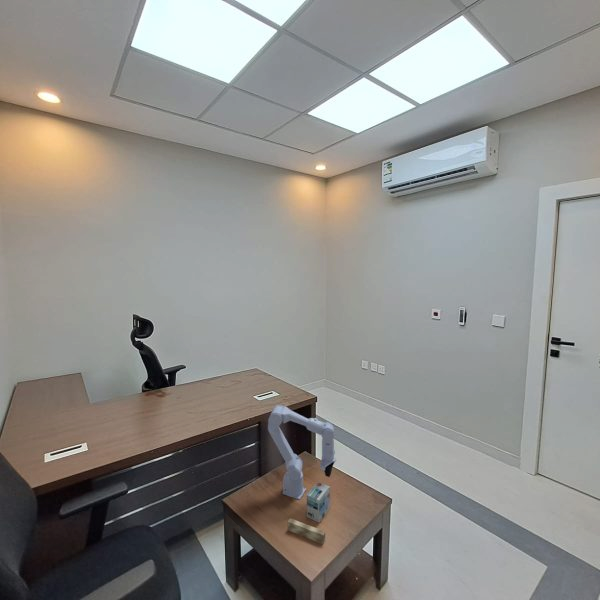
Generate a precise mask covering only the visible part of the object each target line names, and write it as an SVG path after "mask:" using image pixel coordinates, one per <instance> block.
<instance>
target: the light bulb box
mask: <svg viewBox="0 0 600 600" xmlns="http://www.w3.org/2000/svg"><path fill="white" fill-rule="evenodd" d="M330 508H331V486H329V485H327V484H325V483H322V482H320V481H316V483H315V484H314V486H312V488H311V489H310V490H309V492H307V494H306V517H307V518H309V519H310V520H313V521H315V523H316V522H317V524H319V523H320V522H322V520H323V519H324V517H326V515H327V513H328V512H329V510H330Z"/></svg>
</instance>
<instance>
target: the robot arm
mask: <svg viewBox="0 0 600 600" xmlns="http://www.w3.org/2000/svg"><path fill="white" fill-rule="evenodd" d="M267 421H268V422H267V423H268V424H267V431H268V432H269V434H270V437H271V438H272V440H273V442H274V443H275V446H276V447H277V450H278V451H279V452H280V454H281V456H282V457H283V459H284V461H285V468H286V470H287V471H286V472H285V473H284V475H283V480H282V494H283V495H285V496H287V497H291V498H293V499H296V500H301V499H302V497H303V495H304V493H305V492H306V490H307V488H306V487H304V473H303V470H302V469H303V465H304V463H303V462H304V461H303V460H302V459H301V458H300V457H299V456H298V455H297V454H296V453H294V451H293V449H292V447H291V446H290V444H289V442H288V440H287V439H286V437H285V434H284V433H283V431H282V430H281V428H280V426H281V424H282V423H283V424H286V423H288V422H293V423H297V424H299V425H301V426H304V427H306V429H307V430H308V431H310V432H312V433H315V434H317V435H319V436H321V438H322V439H321V462H320V467H319V469H320V471H323V472H324V475H325V477H328V478H330V477H331V474H332V470H333V466H334V464H335V463H336V462H337V458H335V454H336V451H335V438H334V437H335V427H334V425H333V424H332V423H331V422H329V421H327V422H322V421H320V420H318V418H316V417H314V418H313V417H310V418H307V417H305V416H304V415H301V414H299V413H297V412H295V411H293V410H291V409H290V408H289V407H287V406H285V405H283V404H276V405H275V406H274V407H273V409H272V411H271V413H270V415H269V418H268V420H267Z"/></svg>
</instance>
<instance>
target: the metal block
mask: <svg viewBox="0 0 600 600" xmlns="http://www.w3.org/2000/svg"><path fill="white" fill-rule="evenodd" d="M287 530H288V531H289V532H292V533H294V534H295V535H298V536H302V537H304V538H306V539H308V540H311V541H314V542H316V543H319V544H321V545H324V544H325V542H326V531H325V530H322V529H320V528H317V527H314V526H312V525H308V524H307V523H304V522H301V521H300V520H299V521H298V520H296V519H293V518H292V517H290V518H289V519H288V521H287Z"/></svg>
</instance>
